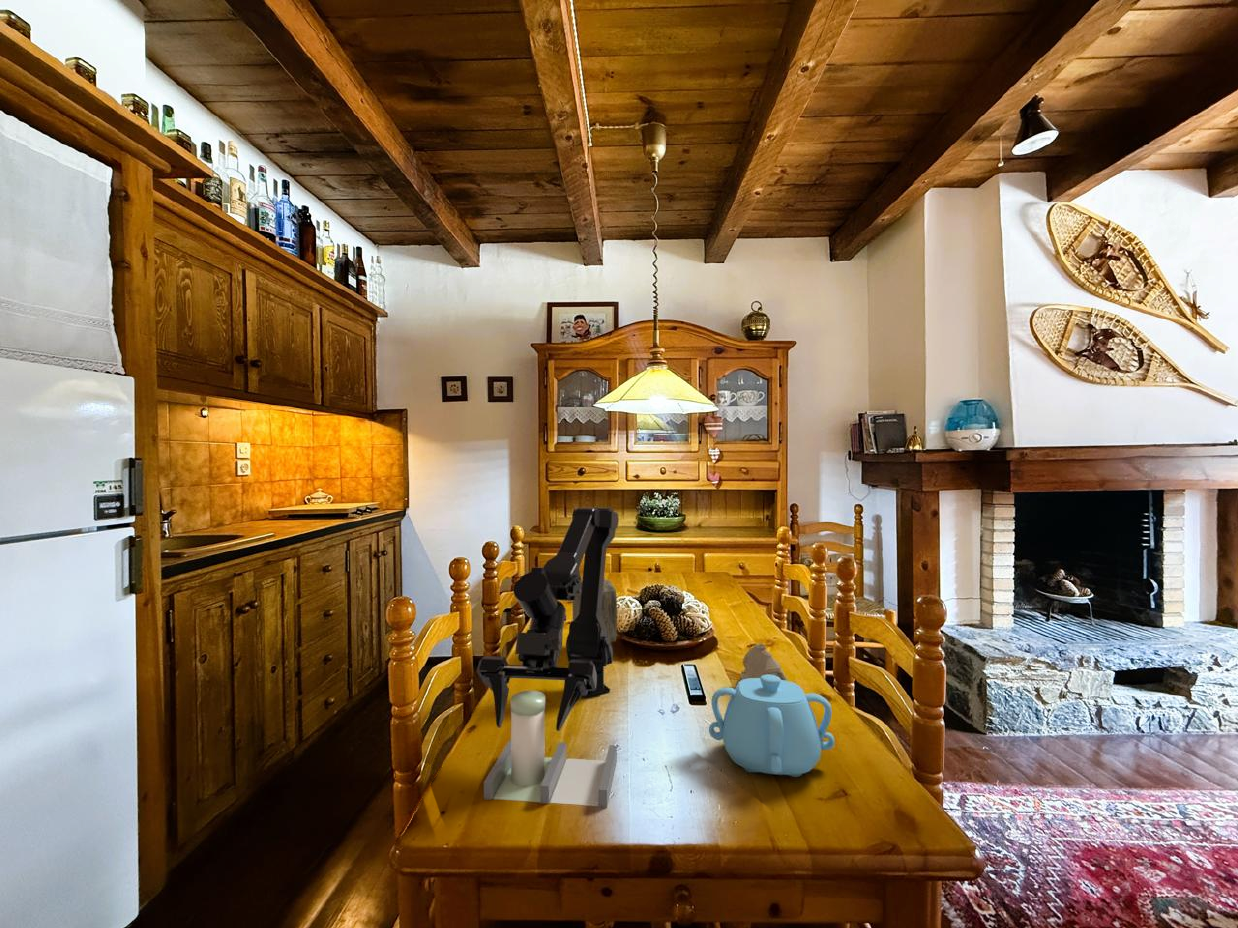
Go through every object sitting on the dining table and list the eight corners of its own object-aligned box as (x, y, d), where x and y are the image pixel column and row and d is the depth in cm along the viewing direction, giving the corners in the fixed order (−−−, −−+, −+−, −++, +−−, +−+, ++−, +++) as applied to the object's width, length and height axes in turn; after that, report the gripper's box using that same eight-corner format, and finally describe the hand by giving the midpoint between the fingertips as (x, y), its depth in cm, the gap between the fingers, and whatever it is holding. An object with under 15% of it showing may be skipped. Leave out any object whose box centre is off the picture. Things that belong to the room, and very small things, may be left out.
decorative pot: (823, 735, 99) (823, 660, 99) (848, 802, 79) (848, 708, 79) (709, 726, 102) (709, 653, 102) (707, 787, 83) (707, 697, 83)
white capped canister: (505, 772, 85) (506, 694, 85) (538, 763, 87) (538, 688, 87) (516, 790, 80) (516, 708, 80) (550, 780, 83) (550, 700, 83)
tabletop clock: (617, 660, 136) (617, 558, 136) (580, 663, 134) (580, 560, 134) (604, 641, 150) (605, 549, 150) (571, 644, 148) (571, 550, 148)
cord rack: (509, 760, 90) (509, 739, 90) (616, 767, 88) (616, 745, 88) (483, 806, 78) (483, 781, 78) (606, 815, 76) (606, 790, 76)
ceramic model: (800, 704, 112) (800, 655, 112) (745, 706, 111) (745, 656, 111) (775, 677, 126) (775, 633, 126) (727, 678, 125) (727, 634, 125)
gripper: (480, 607, 90) (453, 704, 79) (594, 610, 88) (582, 711, 77) (496, 639, 98) (473, 732, 87) (601, 643, 96) (591, 738, 85)
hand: (527, 728), depth 84 cm, fingers open, 9 cm apart
